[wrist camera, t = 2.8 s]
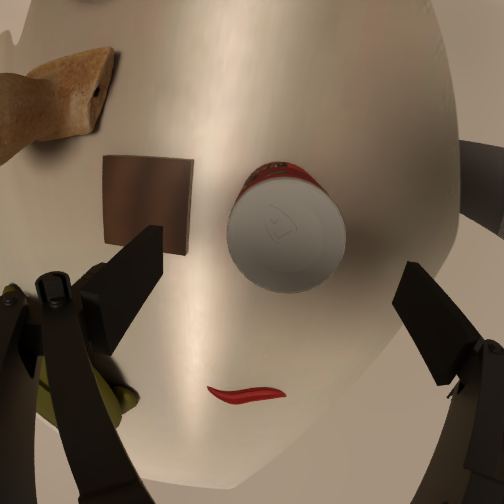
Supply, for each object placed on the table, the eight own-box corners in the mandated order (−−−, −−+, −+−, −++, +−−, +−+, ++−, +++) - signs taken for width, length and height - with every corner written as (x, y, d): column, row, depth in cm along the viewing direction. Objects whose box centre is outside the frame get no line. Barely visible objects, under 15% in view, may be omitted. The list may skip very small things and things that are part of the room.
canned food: (274, 144, 26) (277, 151, 16) (336, 197, 28) (371, 236, 18) (225, 204, 29) (200, 246, 19) (286, 252, 30) (293, 313, 20)
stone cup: (23, 157, 27) (-64, 185, 13) (30, 71, 22) (-58, 70, 9) (112, 153, 27) (9, 182, 13) (123, 49, 22) (28, 14, 8)
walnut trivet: (194, 159, 27) (191, 160, 26) (187, 252, 31) (185, 256, 30) (107, 154, 27) (102, 155, 26) (108, 240, 31) (104, 243, 30)
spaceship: (93, 429, 52) (79, 458, 43) (-3, 347, 44) (-24, 371, 35) (162, 384, 40) (144, 433, 31) (17, 254, 33) (-25, 283, 24)
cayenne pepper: (205, 394, 41) (203, 404, 39) (208, 376, 39) (206, 386, 37) (281, 407, 41) (281, 416, 39) (289, 390, 39) (289, 400, 37)
